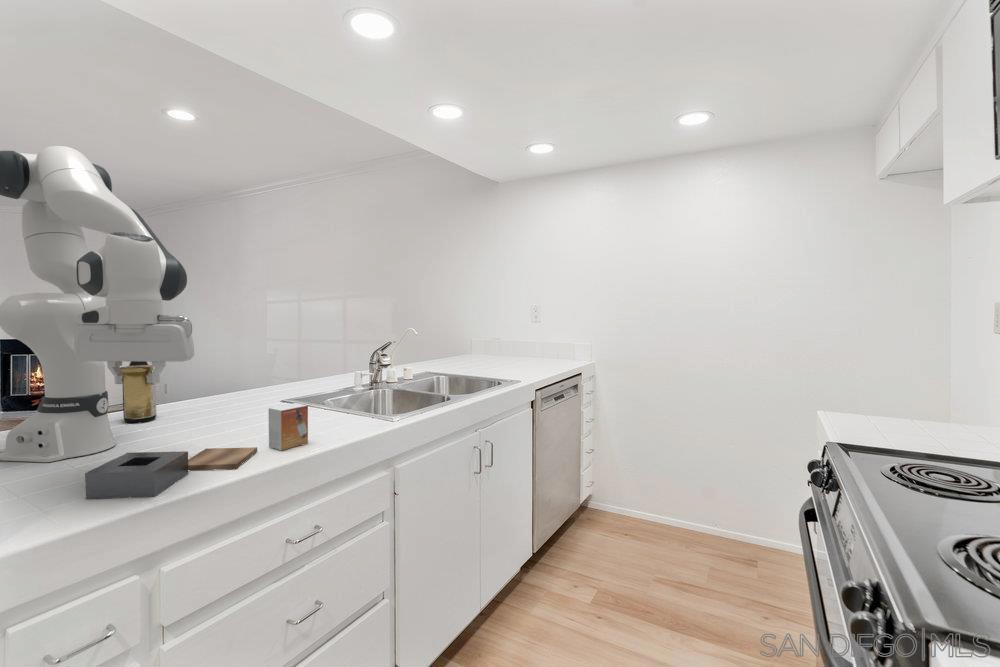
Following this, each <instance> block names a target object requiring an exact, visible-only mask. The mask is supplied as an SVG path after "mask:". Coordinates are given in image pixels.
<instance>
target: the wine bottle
mask: <svg viewBox="0 0 1000 667" xmlns="http://www.w3.org/2000/svg"><path fill="white" fill-rule="evenodd" d="M135 365H149V364H148V362H129V365H128V366H135ZM152 372H153V371H151V374H152ZM156 385H157V384H151V391H152V415H151V416H148V417H144V418H136V419H127V418H125V417H124V416H123V420H124V421H125V423H128V424H140V423H139V422H142V423H146V422H145V421H147V422H150V421H149V420H151V421H153V420H155V419H156V417H157V389H156V388H157V386H156ZM122 407H123V410H122V411H123V415H124V388H123V387H122Z"/></svg>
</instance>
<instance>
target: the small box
mask: <svg viewBox="0 0 1000 667" xmlns="http://www.w3.org/2000/svg"><path fill="white" fill-rule="evenodd" d="M308 408H309V406H308V405H307V404H303V403H298V402H294V403H289V404H285V405H279V406H275V407H268V448H270V447H271V448H270V449H274V448H275V449H274V450H277V449H278V451H281V450H282V451H284V450H287V449H291V448H296V447H300V446H299V445H301V446H303V445H302V444H305V445H307V444H306V443H308V444H309V409H308ZM295 446H296V447H295Z"/></svg>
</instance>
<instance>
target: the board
mask: <svg viewBox="0 0 1000 667" xmlns="http://www.w3.org/2000/svg"><path fill="white" fill-rule="evenodd" d="M256 452H257V453H258V447H257V446H255V447H220V448H219V447H217V448H215V447H212V448H211V447H209V448H207V447H206V448H205V449H203V450H201V451H199V452H198V453H197V454H195V455H193V456H192V457H190V458H188V470H190V471H214V469H227V470H237V469H238V467H239V466H240V465H241V464H242V463H243V462H245V461H246V460H247V459H248V460H250V459H251V458H252V457H253V456H255V455H256V454H257V453H256ZM255 453H256V454H255ZM252 455H253V456H252ZM251 456H252V457H251ZM250 457H251V458H250ZM249 458H250V459H249ZM248 460H247V461H248ZM247 461H246V462H247ZM246 462H245V463H246ZM243 464H244V463H243ZM243 464H242V465H243ZM242 465H241V466H242ZM241 466H240V467H241ZM240 467H239V468H240ZM236 468H237V469H236Z"/></svg>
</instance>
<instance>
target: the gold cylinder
mask: <svg viewBox="0 0 1000 667" xmlns="http://www.w3.org/2000/svg"><path fill="white" fill-rule="evenodd" d="M153 370H154V367H152V364H150V365H149V364H148V365H135V366H129V365H126V366H120V372H122V373H123V384H122V389H123V388H124V414H123V418H124V417H125V418H127V419H136V418H144V417H148V416H151V415H152V391H151V384H147V379H146V376H147V375H151V371H152V372H153Z"/></svg>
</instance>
